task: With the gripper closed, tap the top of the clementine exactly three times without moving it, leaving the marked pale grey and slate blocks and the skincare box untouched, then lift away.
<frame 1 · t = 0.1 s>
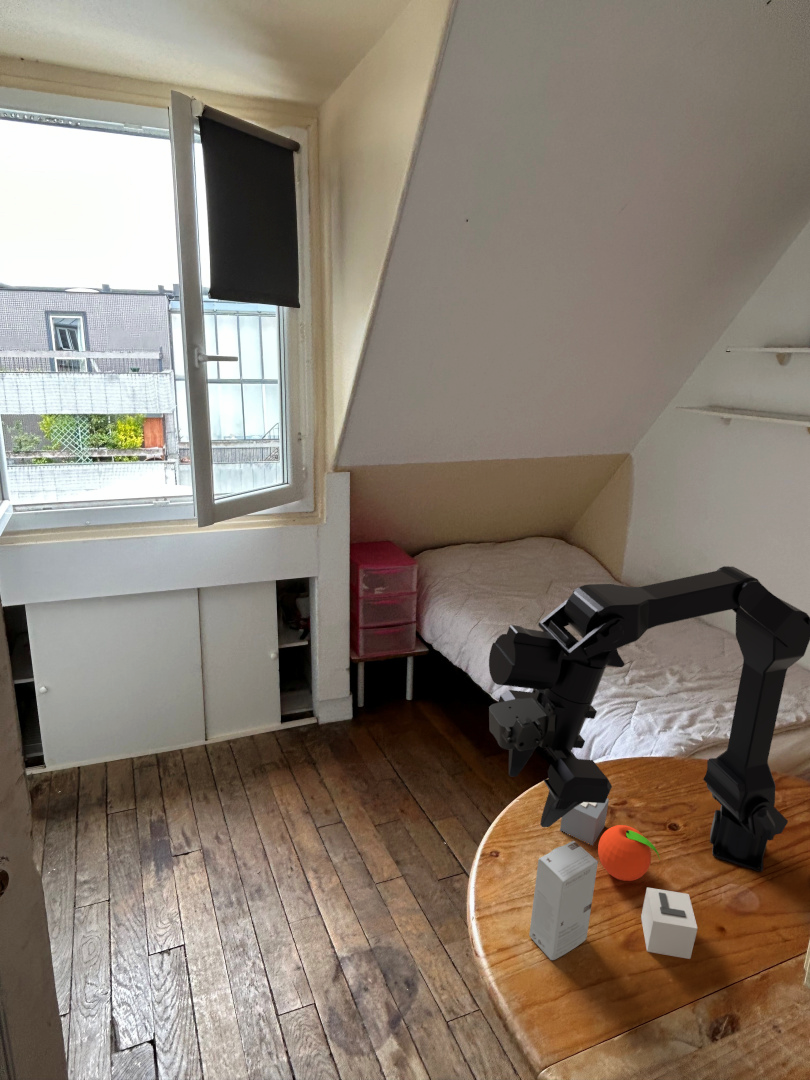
hand: (527, 799, 85), 15 cm above the table, tool pointing down, fingers open, 9 cm apart
slate block: (582, 828, 102), on the table
pale grey block: (664, 937, 85), on the table
skincare box: (557, 938, 84), on the table
clementine: (624, 875, 94), on the table
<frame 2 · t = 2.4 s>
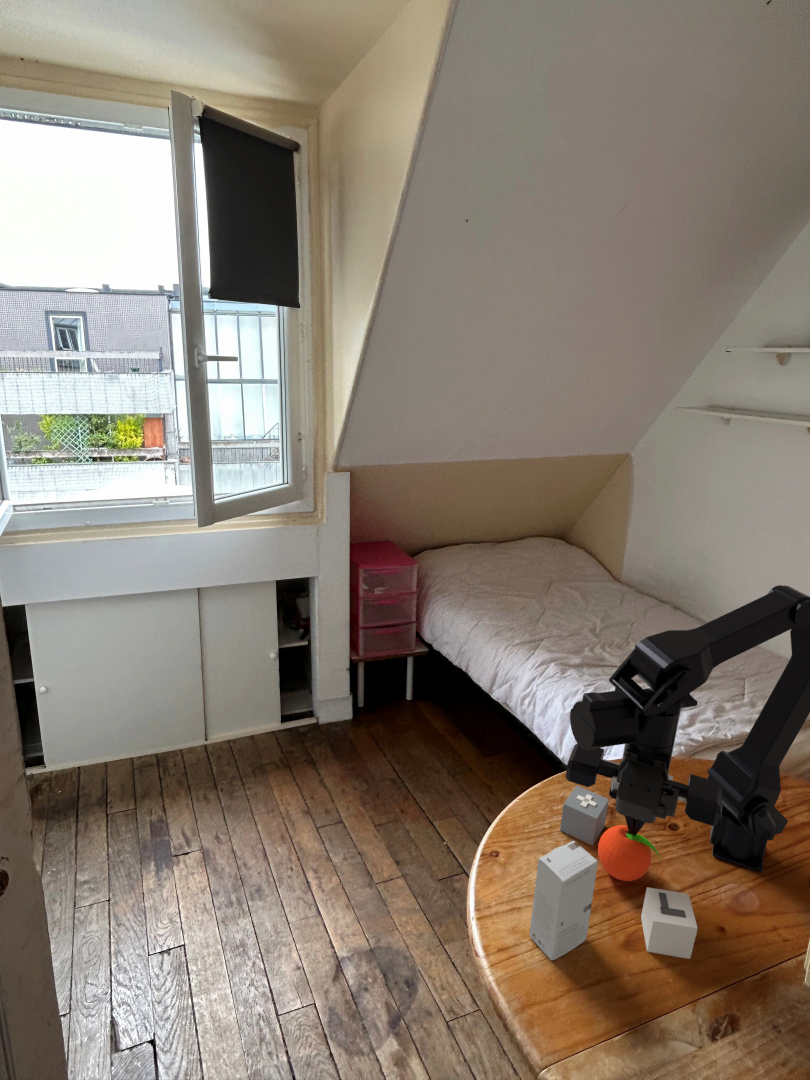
hand: (632, 832, 92), 7 cm above the table, tool pointing down, fingers closed, pressing on clementine
clementine: (624, 875, 94), on the table, touching gripper
everything else where it was.
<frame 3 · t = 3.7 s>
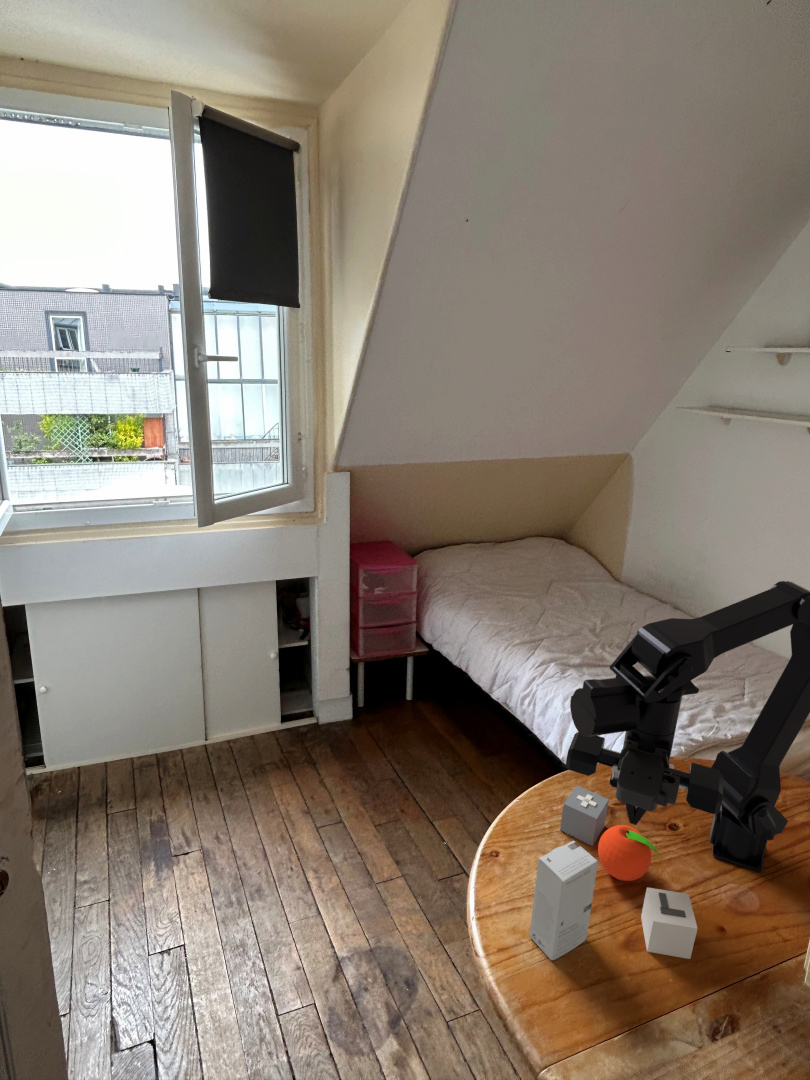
hand: (633, 822, 91), 9 cm above the table, tool pointing down, fingers closed
clementine: (624, 875, 94), on the table
everything else where it was.
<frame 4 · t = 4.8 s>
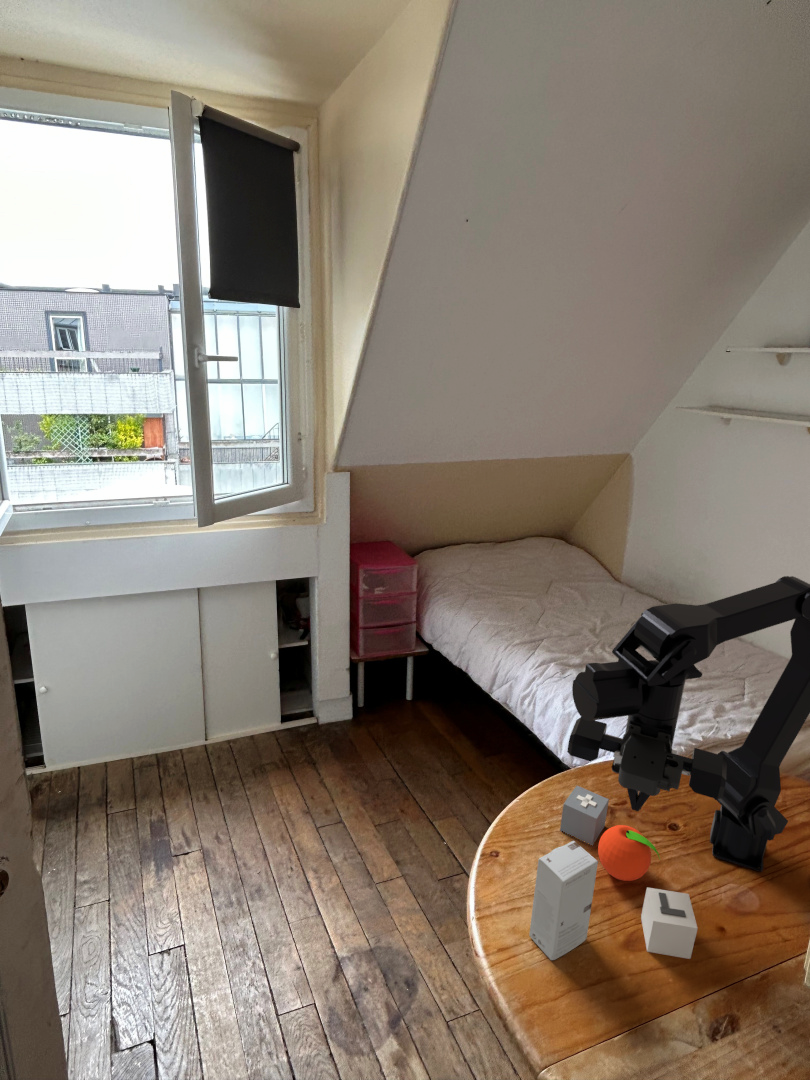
hand: (635, 808, 90), 11 cm above the table, tool pointing down, fingers closed
nothing on the table moved.
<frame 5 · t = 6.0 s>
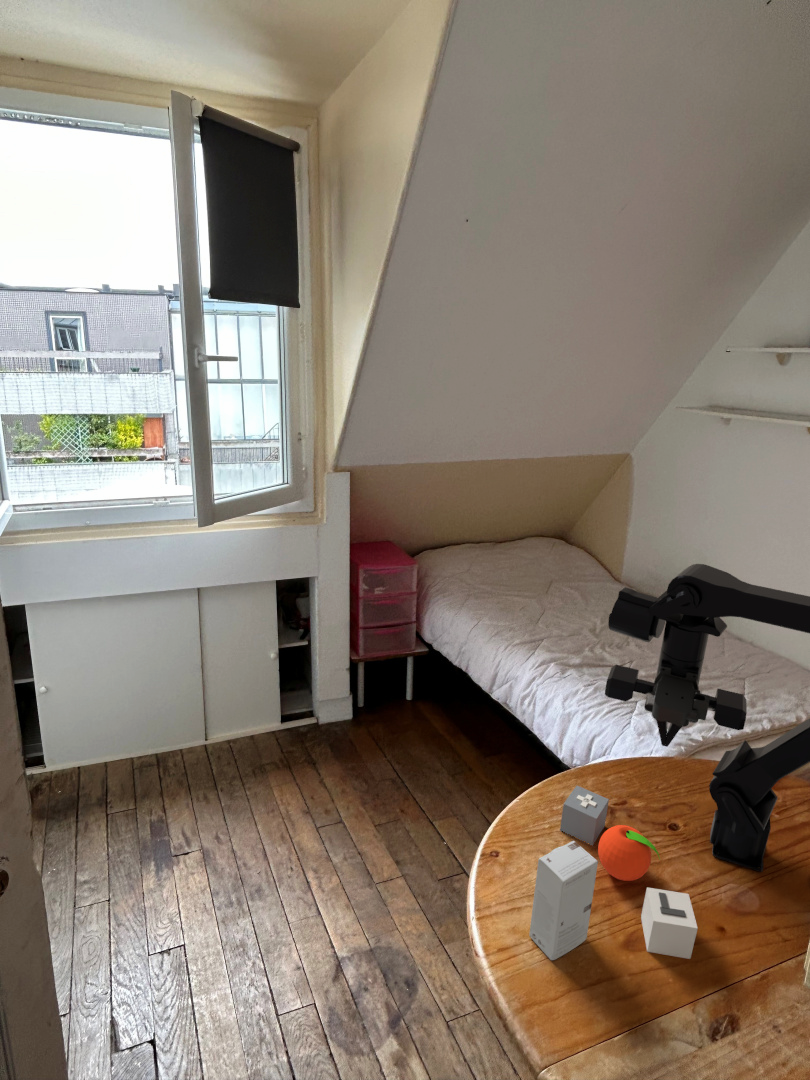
hand: (664, 744, 102), 12 cm above the table, tool pointing down, fingers closed
nothing on the table moved.
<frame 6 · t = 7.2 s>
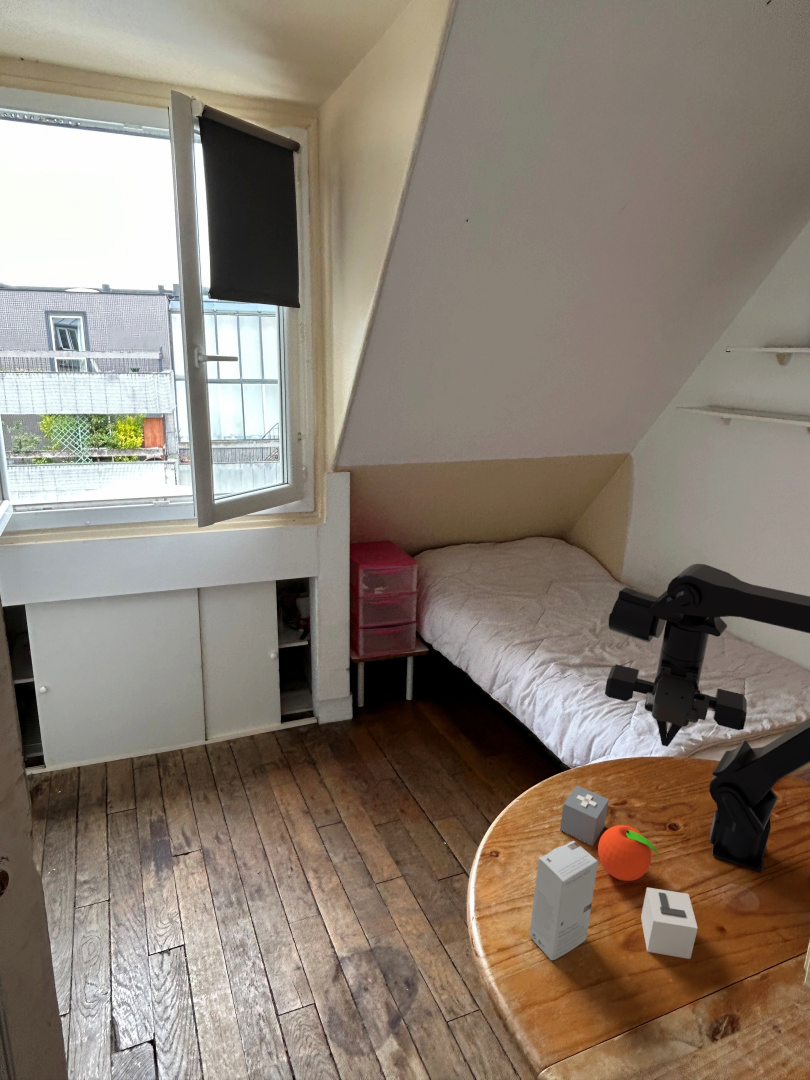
hand: (664, 744, 102), 12 cm above the table, tool pointing down, fingers closed
nothing on the table moved.
at the end: clementine moved 0.2 cm from its start; pale grey block moved 0.1 cm from its start; slate block moved 0.1 cm from its start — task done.
